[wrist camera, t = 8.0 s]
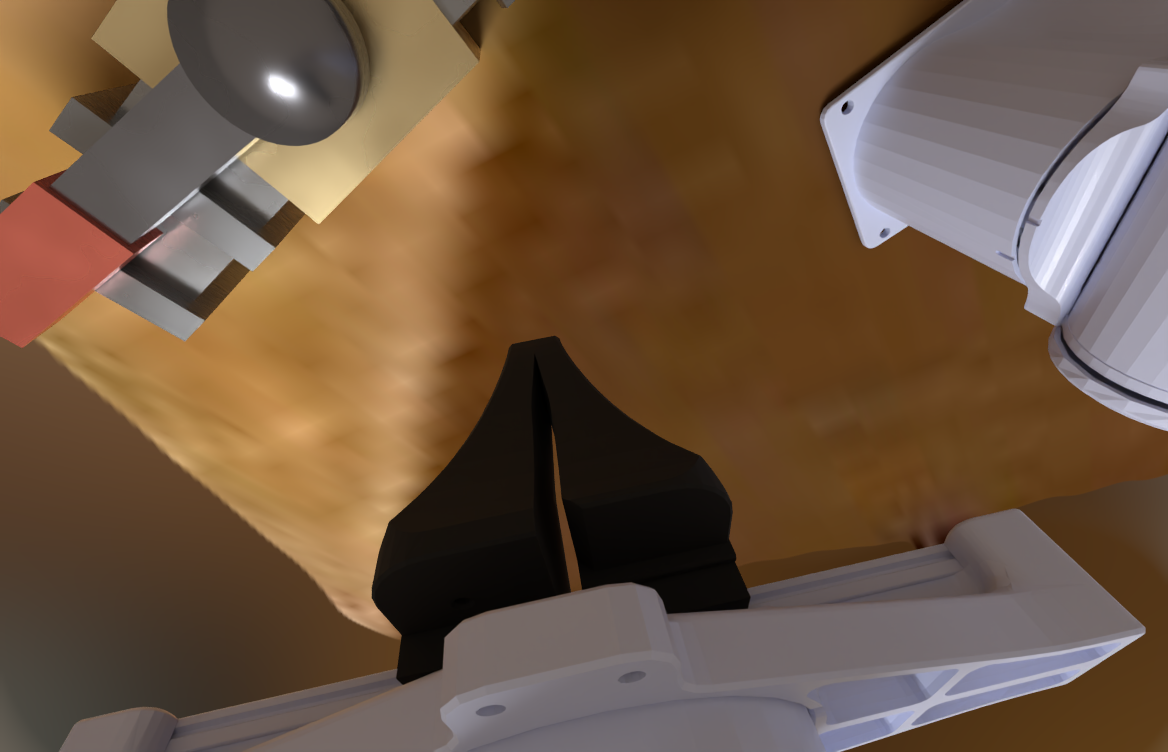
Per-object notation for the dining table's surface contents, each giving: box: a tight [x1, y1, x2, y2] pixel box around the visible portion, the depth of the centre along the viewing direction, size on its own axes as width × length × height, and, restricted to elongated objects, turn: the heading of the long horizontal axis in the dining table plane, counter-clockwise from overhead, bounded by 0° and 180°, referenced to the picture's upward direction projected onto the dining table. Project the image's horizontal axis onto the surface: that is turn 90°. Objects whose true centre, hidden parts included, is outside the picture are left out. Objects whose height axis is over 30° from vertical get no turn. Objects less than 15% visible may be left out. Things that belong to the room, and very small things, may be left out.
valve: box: [0, 0, 515, 341], centre depth 14 cm, size 20×6×5 cm, turn 127°
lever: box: [0, 0, 370, 348], centre depth 12 cm, size 13×4×2 cm, turn 121°
